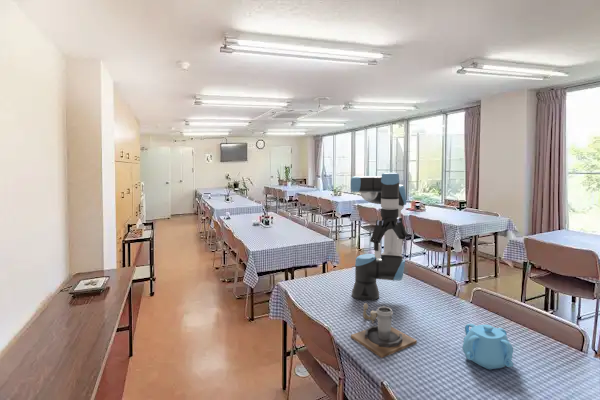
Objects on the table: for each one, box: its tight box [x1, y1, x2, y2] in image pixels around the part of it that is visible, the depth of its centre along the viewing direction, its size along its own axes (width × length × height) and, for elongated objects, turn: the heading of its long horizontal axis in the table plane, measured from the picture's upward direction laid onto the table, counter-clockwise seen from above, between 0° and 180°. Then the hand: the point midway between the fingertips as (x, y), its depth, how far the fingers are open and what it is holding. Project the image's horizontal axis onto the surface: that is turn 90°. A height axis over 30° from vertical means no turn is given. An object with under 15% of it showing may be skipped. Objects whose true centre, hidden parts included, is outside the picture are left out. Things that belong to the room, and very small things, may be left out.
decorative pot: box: [462, 323, 514, 370], centre depth 123 cm, size 16×16×14 cm
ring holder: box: [350, 324, 418, 359], centre depth 138 cm, size 20×18×3 cm
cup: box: [375, 306, 394, 340], centre depth 138 cm, size 7×7×12 cm
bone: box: [362, 302, 378, 324], centre depth 156 cm, size 9×6×10 cm
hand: (388, 255), depth 147 cm, fingers open, 13 cm apart
